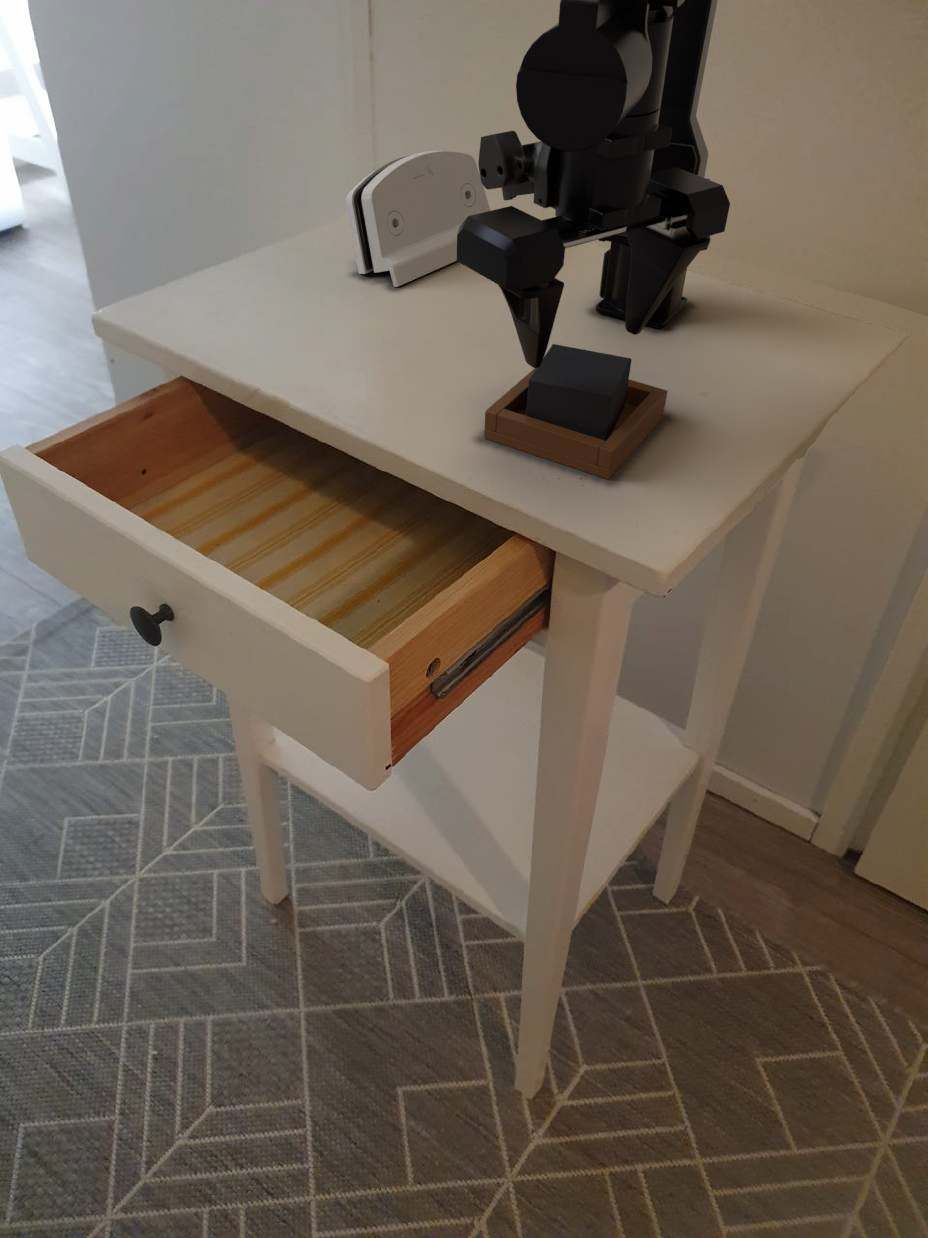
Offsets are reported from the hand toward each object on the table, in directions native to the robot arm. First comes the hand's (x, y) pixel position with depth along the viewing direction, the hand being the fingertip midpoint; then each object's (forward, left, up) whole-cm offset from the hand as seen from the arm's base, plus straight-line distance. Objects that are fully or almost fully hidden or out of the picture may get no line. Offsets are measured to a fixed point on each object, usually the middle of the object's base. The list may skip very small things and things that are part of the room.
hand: (584, 348), depth 68 cm
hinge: (+27, -22, -7) cm, 36 cm away
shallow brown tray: (0, 0, -6) cm, 6 cm away
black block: (0, 0, -6) cm, 6 cm away
